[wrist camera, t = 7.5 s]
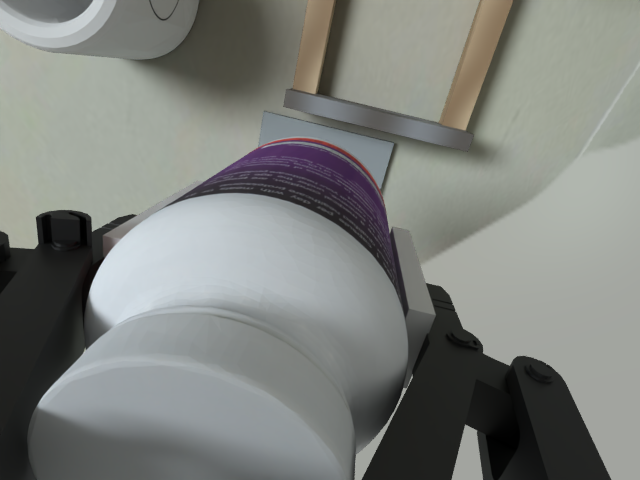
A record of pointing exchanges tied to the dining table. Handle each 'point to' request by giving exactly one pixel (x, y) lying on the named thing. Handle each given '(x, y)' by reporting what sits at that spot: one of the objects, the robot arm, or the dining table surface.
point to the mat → (330, 140)
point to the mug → (100, 26)
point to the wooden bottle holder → (444, 133)
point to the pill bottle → (237, 332)
